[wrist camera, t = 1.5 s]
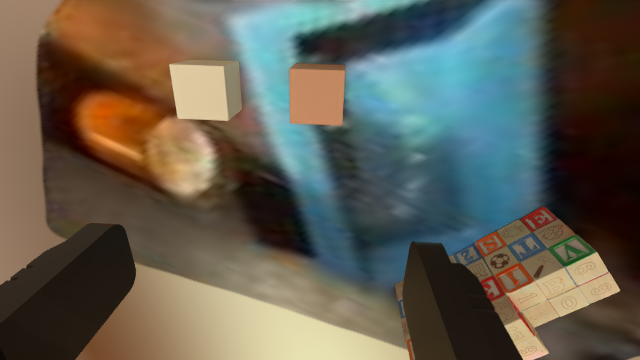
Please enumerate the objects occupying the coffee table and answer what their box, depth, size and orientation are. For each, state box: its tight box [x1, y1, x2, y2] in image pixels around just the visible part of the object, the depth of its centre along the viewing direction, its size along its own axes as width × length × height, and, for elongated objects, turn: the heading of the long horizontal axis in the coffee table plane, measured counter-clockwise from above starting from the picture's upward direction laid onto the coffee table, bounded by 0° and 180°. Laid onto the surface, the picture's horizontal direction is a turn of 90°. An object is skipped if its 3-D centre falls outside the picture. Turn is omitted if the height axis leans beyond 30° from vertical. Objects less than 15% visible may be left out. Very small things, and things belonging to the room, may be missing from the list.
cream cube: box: [169, 59, 242, 121], centre depth 33 cm, size 5×5×5 cm
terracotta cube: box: [290, 63, 345, 125], centre depth 32 cm, size 5×5×5 cm
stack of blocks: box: [395, 206, 620, 360], centre depth 38 cm, size 21×6×12 cm, turn 129°
